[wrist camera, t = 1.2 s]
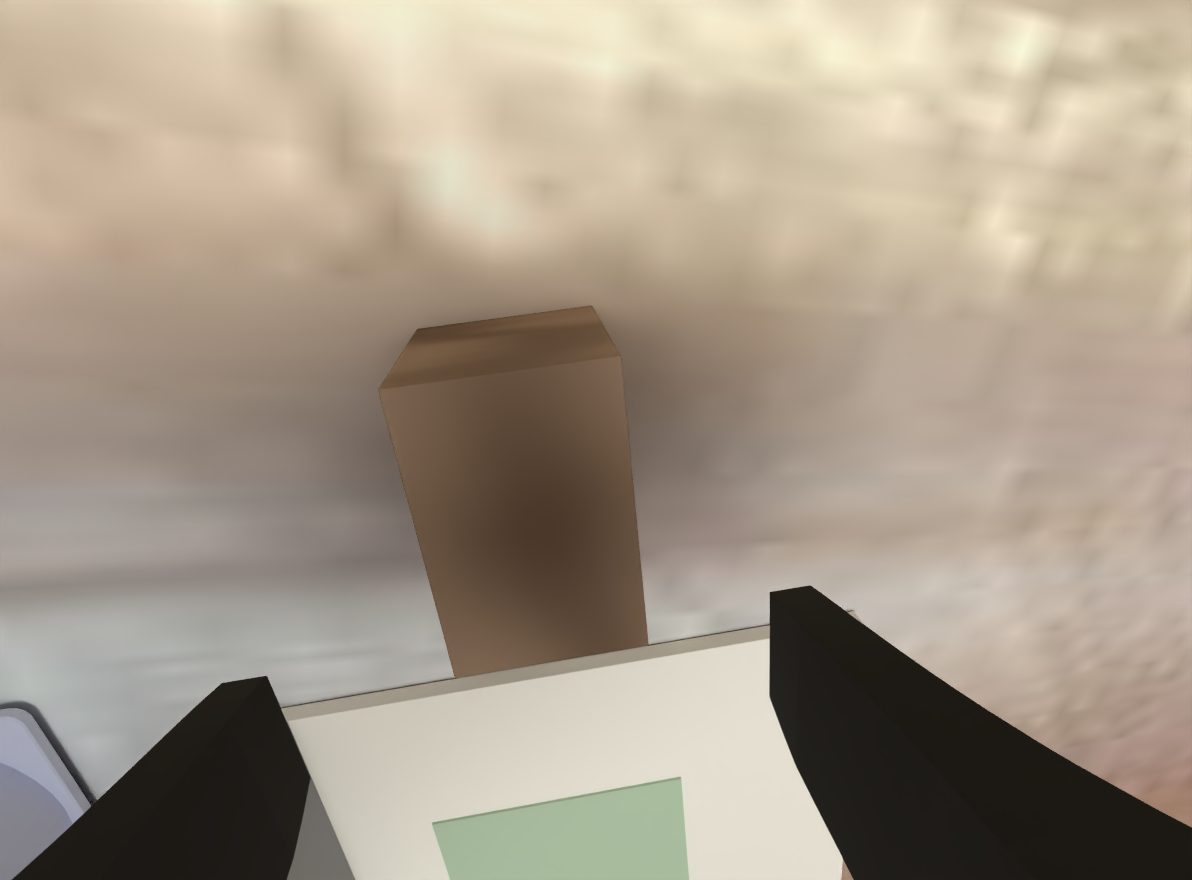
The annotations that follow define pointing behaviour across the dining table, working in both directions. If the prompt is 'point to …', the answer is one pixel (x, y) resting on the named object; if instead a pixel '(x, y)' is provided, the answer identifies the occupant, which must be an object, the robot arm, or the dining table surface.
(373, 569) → the dining table surface
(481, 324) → the walnut block
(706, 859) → the arena
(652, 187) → the dining table surface
